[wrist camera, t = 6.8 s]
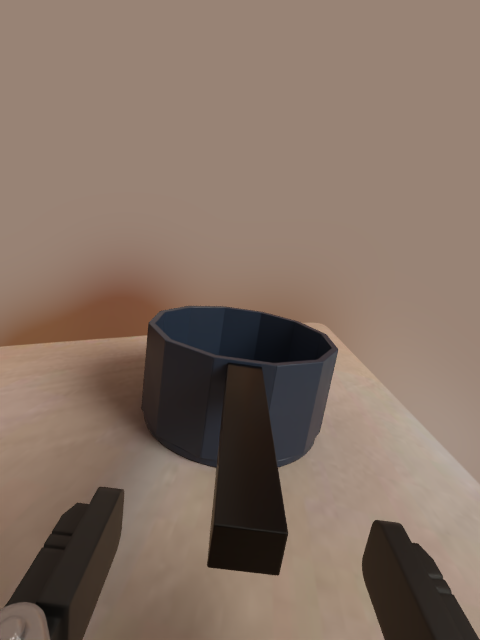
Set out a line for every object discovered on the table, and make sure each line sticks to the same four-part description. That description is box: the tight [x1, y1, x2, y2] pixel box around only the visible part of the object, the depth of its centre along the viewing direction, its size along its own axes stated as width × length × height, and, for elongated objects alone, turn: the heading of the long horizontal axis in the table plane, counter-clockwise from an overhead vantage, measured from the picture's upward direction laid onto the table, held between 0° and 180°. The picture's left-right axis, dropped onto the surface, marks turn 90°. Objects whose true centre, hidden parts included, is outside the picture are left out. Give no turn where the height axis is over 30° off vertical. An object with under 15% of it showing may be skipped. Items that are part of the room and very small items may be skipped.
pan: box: [141, 306, 338, 575], centre depth 25 cm, size 15×28×8 cm, turn 0°
